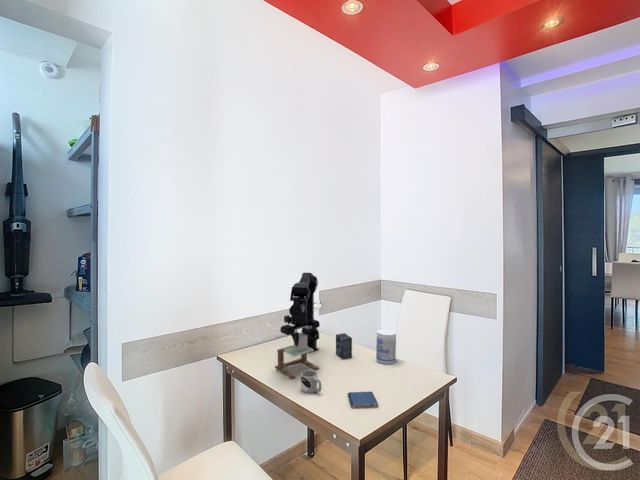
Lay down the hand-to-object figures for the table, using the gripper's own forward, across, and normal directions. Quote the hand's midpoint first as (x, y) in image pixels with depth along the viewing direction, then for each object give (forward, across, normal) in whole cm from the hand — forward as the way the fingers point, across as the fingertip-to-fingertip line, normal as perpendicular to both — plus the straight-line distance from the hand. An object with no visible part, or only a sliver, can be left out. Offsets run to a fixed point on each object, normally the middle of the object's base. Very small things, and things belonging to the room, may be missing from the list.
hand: (300, 344), depth 153 cm
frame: (+12, 0, -3) cm, 13 cm away
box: (+13, -28, 0) cm, 31 cm away
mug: (+13, +7, +18) cm, 23 cm away
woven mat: (+13, -3, +37) cm, 39 cm away
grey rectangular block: (+1, 0, 0) cm, 1 cm away
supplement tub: (+13, -40, +18) cm, 45 cm away
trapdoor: (+3, 0, -2) cm, 4 cm away
